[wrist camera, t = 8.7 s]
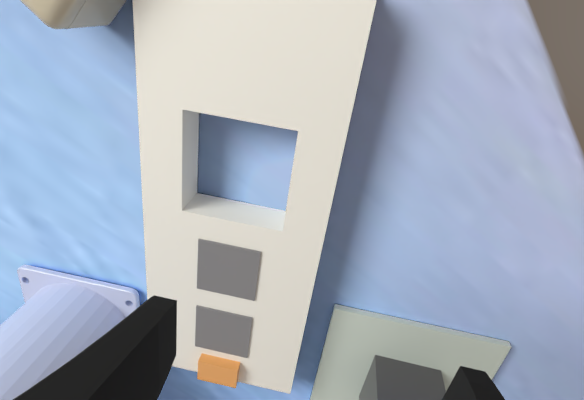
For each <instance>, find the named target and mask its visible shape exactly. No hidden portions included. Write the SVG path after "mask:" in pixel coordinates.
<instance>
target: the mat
mask: <svg viewBox="0 0 584 400" xmlns="http://www.w3.org/2000/svg"><path fill="white" fill-rule="evenodd" d="M510 349H511V345H510V343H509V342H508V341H504V340H499V339H495V338H490V337H485V336H481V335H476V334H471V333H467V332H462V331H458V330H453V329H448V328H444V327H439V326H434V325H430V324H425V323H421V322H416V321H411V320H407V319H402V318H397V317H393V316H388V315H384V314H379V313H374V312H370V311H365V310H360V309H356V308H351V307H346V306H342V305H337V304H335V305H334V309H333V313H332V317H331V320H330V324H329V328H328V332H327V336H326V340H325V343H324V347H323V351H322V355H321V359H320V363H319V366H318V370H317V374H316V378H315V382H314V386H313V389H312V393H311V397H310V400H359V395H360V392H361V389H362V387H363V384H364V382H365V379H366V377H367V374H368V372H369V369H370V367H371V364H372V361H373V359H374V356H375V355H379V356H383V357H387V358H391V359H395V360H399V361H404V362H408V363H412V364H416V365H420V366H425V367H429V368H433V369H437V370H441V372H442V376H443V381H444V385H445V390H446V391H447V389H448V387H449V385H450V384H451V382H452V380H453V378H454V376H455V374H456V373H457V371H458V369H459V367H460V366H463V367H468V368H472V369H476V370H481V371H485V372H486V373H487V374H488V376H489V377H490V379H491V380H492V379H493V377H494V375H495V374H496V372H497V370H498V369H499V367H500V365H501V364H502V362H503V360H504V359H505V357H506V355H507V354H508V352H509V350H510Z"/></svg>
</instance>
